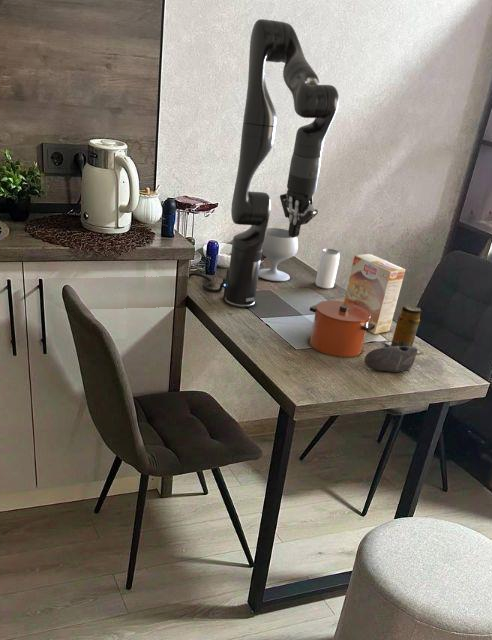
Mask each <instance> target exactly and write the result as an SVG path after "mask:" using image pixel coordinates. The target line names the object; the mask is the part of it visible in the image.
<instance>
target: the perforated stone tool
mask: <svg viewBox="0 0 492 640" xmlns="http://www.w3.org/2000/svg"><path fill="white" fill-rule="evenodd" d="M417 350H418V348H417V346H412V347H408V346H391V347H390V346H384V347H377V348H375V349H373V350H370V351H369V352H368V353H366V355H365V357H364V364H365V366H366V367H367V368H368V369H370V370H374V371H383V372H391V373H398V372H409V371H410V370H411V369H412V366H413V365H414V363H415V360H416V357H417V355H418V353H417Z"/></svg>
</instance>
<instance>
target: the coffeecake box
mask: <svg viewBox="0 0 492 640" xmlns="http://www.w3.org/2000/svg"><path fill="white" fill-rule="evenodd" d="M405 274H406V269H405V268H403V267H401V266H400V265H399V266H398V265H397V264H395V263H392V262H390V261H387V260H386V259H383V258H381V257H378V256H376V255H375V254H371V253H363V254H354V257H353V262H352V265H351V269H350V274H349V278H348V279H349V280H348V284H347V288H346V293H345V297H344V301H343V302H348V303H352V304H356V305H358V306H361V307H363V308H365V309H366V310H368V311H369V312H370V314H371V317H370V319H369V323H371V324H374V325H375V328H374V329H372V330H370V331H369V332H370V333H372V334H373V335H377V334H381V333H387V332H390V329H391V326H392V322H393V318H394V315H395V311H396V308H397V303H398V300H399V295H400V292H401V288H402V285H403V281H404V277H405Z"/></svg>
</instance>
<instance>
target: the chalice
mask: <svg viewBox="0 0 492 640" xmlns="http://www.w3.org/2000/svg"><path fill="white" fill-rule="evenodd" d="M288 230H289V229H284V228H280V227H279V228H278V227H267V231H266V236H265V241H264V244H263V248H262V255H263V256H264V257H265V258H267V259H268V260H269V262H270V264H271V267H270V268H261V269H260V268H259V275H258V278H260V279H261V278H262V279H264V280H268V281H271V282H272V281H273V282H285V281H288V280H290V279H291V277H290V275H289V274H288V273H287V272H284V271H282V270H278V265H279V264H280V263H281V262H283V261H286V260H289V259H291V258H293V257H295V255H296V254H297V253H298V251H299V239H298V236H297V237H295V238H292V237H290V236H289V232H288Z"/></svg>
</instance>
